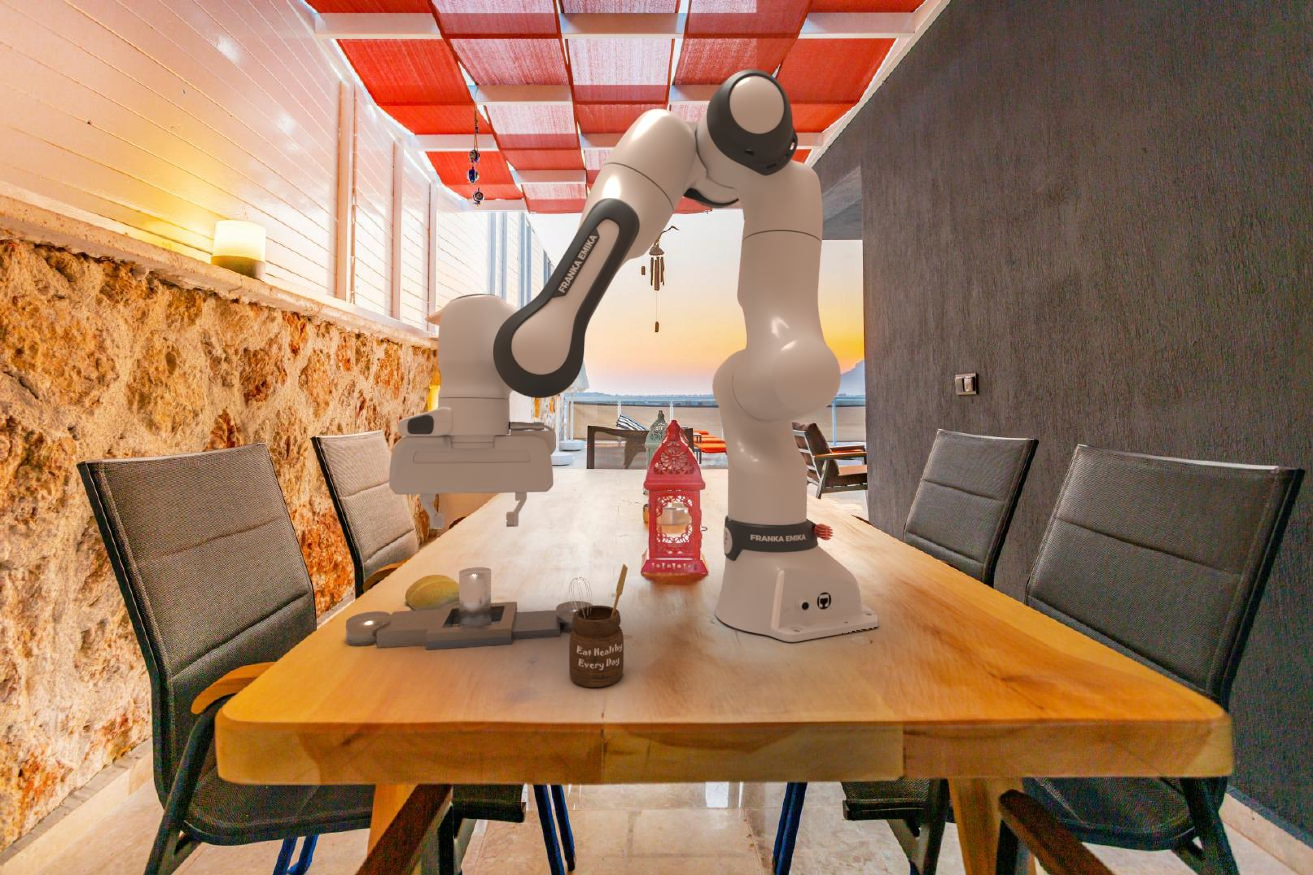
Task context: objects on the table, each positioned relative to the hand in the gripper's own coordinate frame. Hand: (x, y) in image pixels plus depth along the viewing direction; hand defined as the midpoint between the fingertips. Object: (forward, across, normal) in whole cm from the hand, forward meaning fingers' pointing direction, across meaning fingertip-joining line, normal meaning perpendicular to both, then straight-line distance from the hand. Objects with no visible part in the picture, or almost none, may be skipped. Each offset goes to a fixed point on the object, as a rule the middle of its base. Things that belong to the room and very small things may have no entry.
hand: (475, 527), depth 71 cm
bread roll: (+14, +8, -13) cm, 21 cm away
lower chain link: (+14, -5, 0) cm, 15 cm away
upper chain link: (+14, +5, 0) cm, 15 cm away
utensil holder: (+14, -15, +15) cm, 25 cm away
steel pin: (+14, 0, 0) cm, 14 cm away
